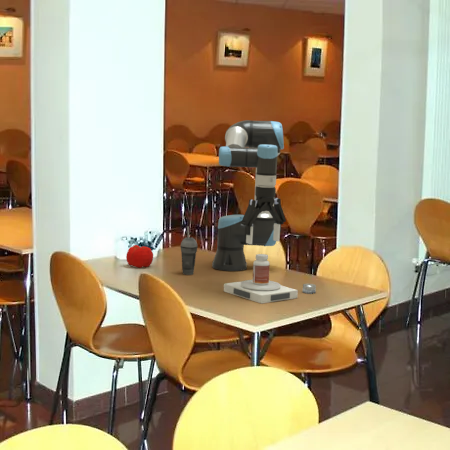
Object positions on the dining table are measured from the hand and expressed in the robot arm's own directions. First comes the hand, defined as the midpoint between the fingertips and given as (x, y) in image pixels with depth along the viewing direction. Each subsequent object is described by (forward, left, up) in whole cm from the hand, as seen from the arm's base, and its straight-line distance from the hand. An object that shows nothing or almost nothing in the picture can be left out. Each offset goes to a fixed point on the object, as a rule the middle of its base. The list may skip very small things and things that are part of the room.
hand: (262, 242), depth 310 cm
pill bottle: (0, 0, -16) cm, 16 cm away
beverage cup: (-44, -2, -20) cm, 48 cm away
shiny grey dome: (+6, +20, -20) cm, 29 cm away
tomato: (-66, -12, -20) cm, 70 cm away
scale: (0, 0, -20) cm, 20 cm away
